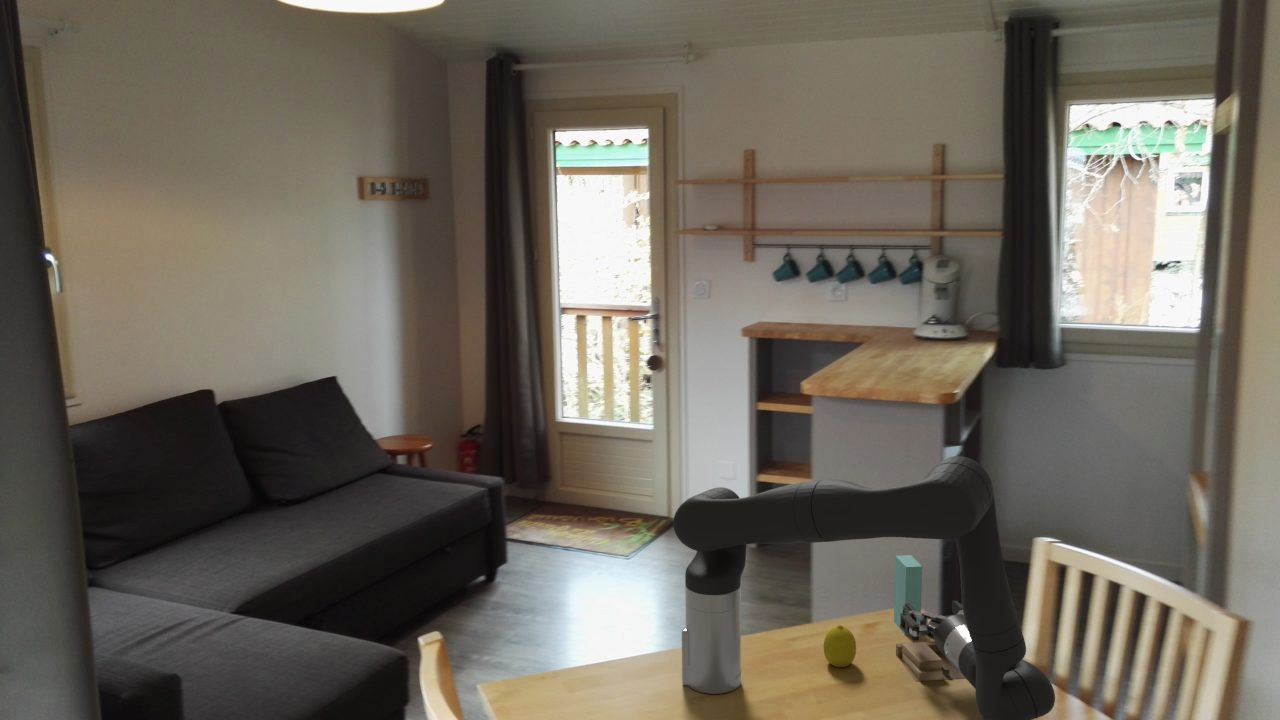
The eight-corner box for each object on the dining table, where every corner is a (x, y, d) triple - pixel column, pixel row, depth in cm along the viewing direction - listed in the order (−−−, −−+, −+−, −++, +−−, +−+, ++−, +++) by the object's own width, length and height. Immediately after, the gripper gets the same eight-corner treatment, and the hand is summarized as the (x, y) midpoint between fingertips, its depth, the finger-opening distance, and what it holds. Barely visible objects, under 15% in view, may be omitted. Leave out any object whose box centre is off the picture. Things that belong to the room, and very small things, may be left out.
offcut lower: (918, 680, 167) (919, 672, 167) (902, 659, 175) (902, 651, 175) (942, 679, 168) (942, 671, 167) (924, 658, 175) (925, 650, 175)
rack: (915, 686, 167) (916, 666, 167) (895, 659, 177) (896, 641, 177) (1008, 681, 169) (1009, 661, 168) (983, 654, 179) (984, 636, 178)
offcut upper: (919, 670, 168) (919, 661, 168) (902, 652, 175) (902, 643, 174) (941, 668, 168) (942, 659, 168) (923, 650, 175) (923, 641, 175)
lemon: (861, 667, 174) (862, 624, 173) (845, 679, 170) (846, 634, 169) (833, 658, 178) (833, 616, 177) (817, 670, 174) (817, 626, 173)
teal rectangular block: (904, 639, 185) (906, 567, 183) (893, 626, 191) (895, 555, 189) (920, 638, 186) (922, 566, 183) (909, 625, 191) (911, 555, 189)
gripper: (1012, 622, 160) (970, 584, 176) (925, 627, 159) (890, 588, 175) (1010, 667, 161) (968, 625, 177) (923, 671, 160) (889, 629, 176)
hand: (930, 607), depth 176 cm, fingers open, 8 cm apart
